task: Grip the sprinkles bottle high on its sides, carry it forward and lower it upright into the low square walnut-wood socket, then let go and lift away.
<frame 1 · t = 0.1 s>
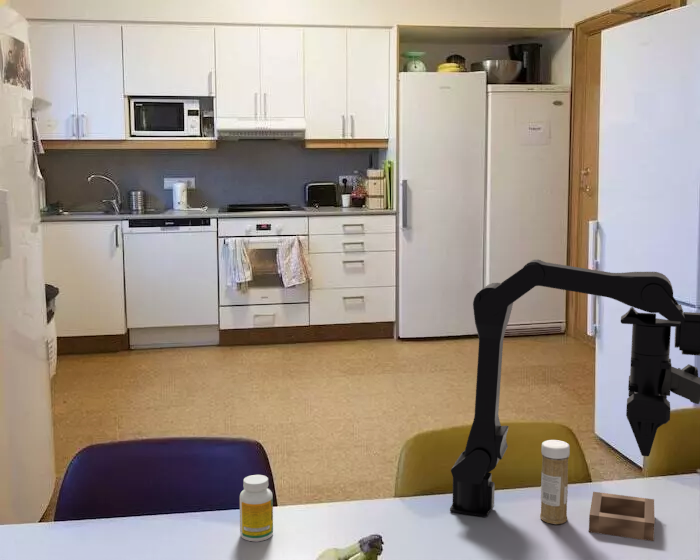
hand: (645, 446, 132), 15 cm above the table, tool pointing down, fingers open, 9 cm apart
sprinkles bottle: (553, 520, 138), on the table
walnut socket: (621, 523, 137), on the table
supplement bottle: (256, 536, 133), on the table
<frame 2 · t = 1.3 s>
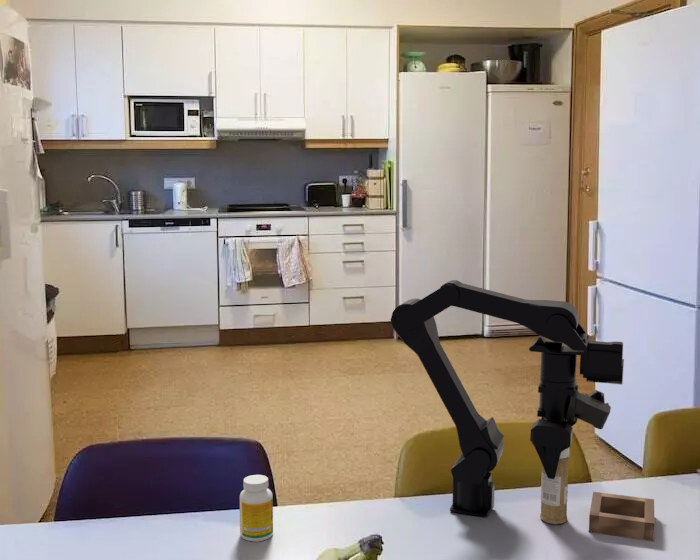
hand: (554, 468, 137), 9 cm above the table, tool pointing down, fingers open, 9 cm apart
nothing on the table moved.
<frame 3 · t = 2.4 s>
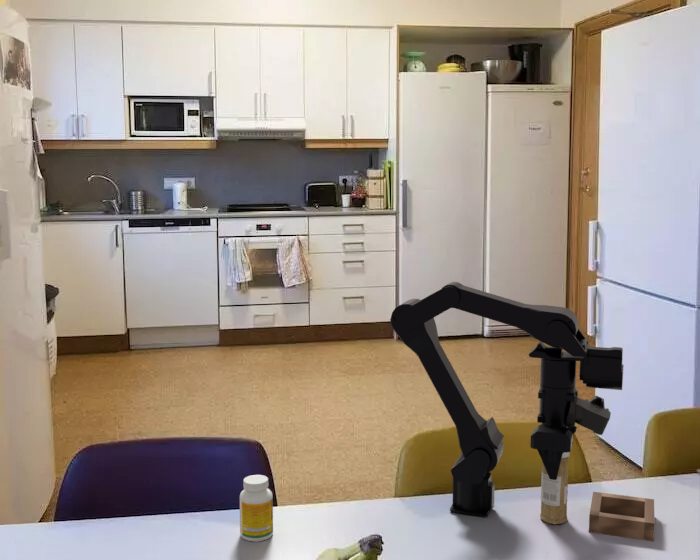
hand: (554, 474, 137), 8 cm above the table, tool pointing down, fingers closed on sprinkles bottle, 4 cm apart
sprinkles bottle: (553, 520, 138), on the table, touching gripper
everything else where it was.
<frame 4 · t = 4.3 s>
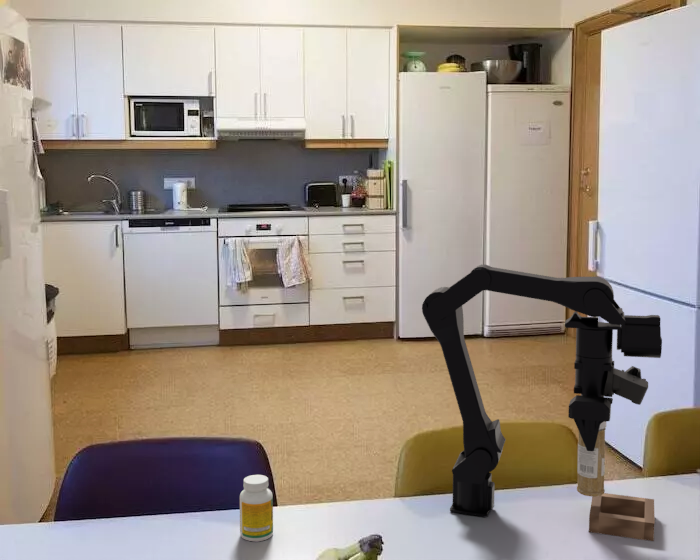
hand: (591, 446, 136), 13 cm above the table, tool pointing down, fingers closed on sprinkles bottle, 4 cm apart
sprinkles bottle: (590, 493, 137), point 5 cm above the table, touching gripper
everything else where it was.
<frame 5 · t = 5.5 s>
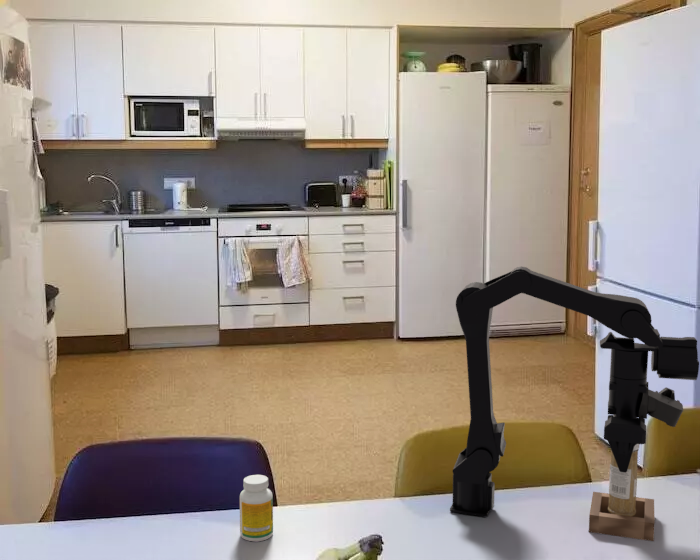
hand: (623, 467, 135), 10 cm above the table, tool pointing down, fingers closed on sprinkles bottle, 4 cm apart
sprinkles bottle: (621, 513, 136), point 2 cm above the table, touching gripper
everything else where it was.
when the fingers open (9 cm above the table, at t = 6.3 s): sprinkles bottle drops 1 cm, resting in walnut socket.
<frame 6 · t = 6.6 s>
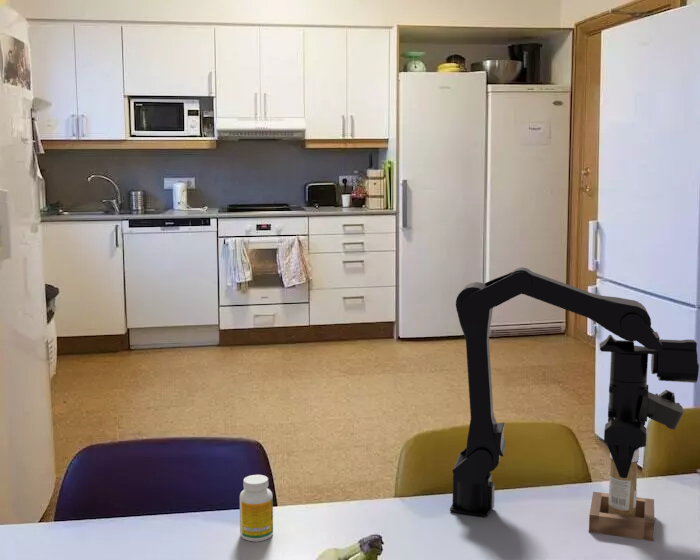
hand: (623, 469, 135), 9 cm above the table, tool pointing down, fingers open, 7 cm apart
sprinkles bottle: (621, 524, 137), resting in walnut socket
everything else where it was.
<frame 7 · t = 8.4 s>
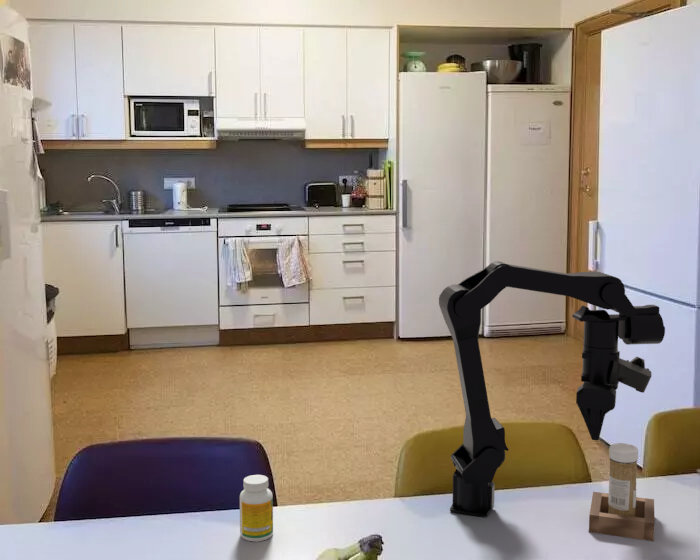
hand: (597, 431, 144), 13 cm above the table, tool pointing down, fingers open, 9 cm apart
nothing on the table moved.
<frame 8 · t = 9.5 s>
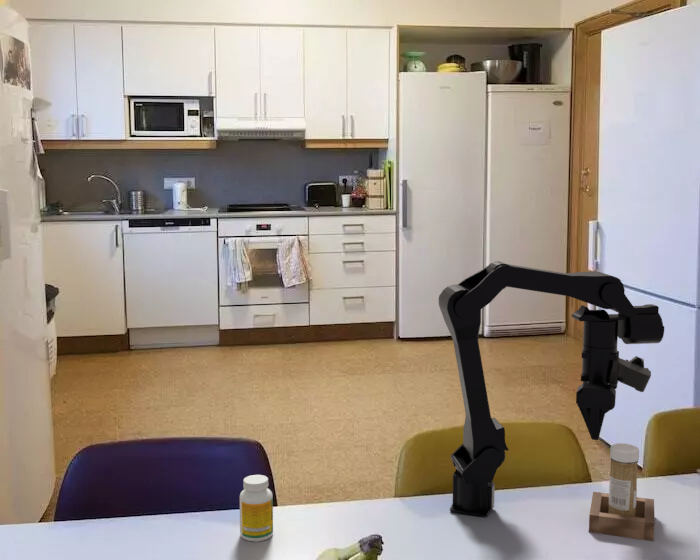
hand: (596, 431, 144), 13 cm above the table, tool pointing down, fingers open, 9 cm apart
nothing on the table moved.
at the end: sprinkles bottle 0.1 cm off-centre on the walnut socket, point 0.0 cm above the walnut socket's base; sprinkles bottle tilted 0°; the gripper is holding nothing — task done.
